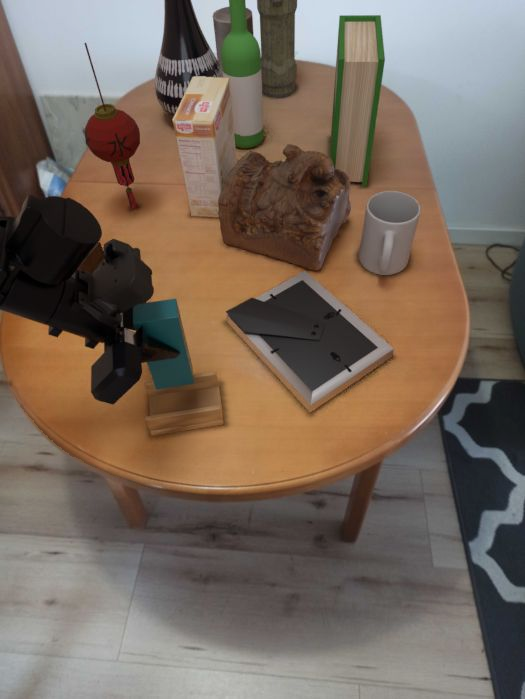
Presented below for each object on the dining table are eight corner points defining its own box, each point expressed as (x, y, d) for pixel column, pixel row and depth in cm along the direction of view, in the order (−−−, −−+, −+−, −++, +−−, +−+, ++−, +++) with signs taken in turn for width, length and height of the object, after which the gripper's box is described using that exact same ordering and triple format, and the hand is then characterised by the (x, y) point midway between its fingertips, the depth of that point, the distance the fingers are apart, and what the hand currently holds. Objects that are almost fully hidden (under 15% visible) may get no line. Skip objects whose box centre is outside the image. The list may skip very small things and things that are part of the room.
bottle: (241, 128, 116) (229, -29, 92) (270, 136, 113) (266, -23, 89) (222, 144, 112) (204, -15, 88) (252, 154, 109) (242, -8, 85)
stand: (151, 435, 69) (144, 421, 66) (150, 395, 73) (144, 380, 70) (223, 424, 70) (220, 410, 67) (219, 385, 74) (216, 369, 71)
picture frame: (227, 323, 81) (310, 413, 70) (225, 311, 79) (310, 402, 68) (304, 279, 86) (391, 357, 76) (304, 267, 84) (395, 345, 73)
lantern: (164, 214, 98) (123, 48, 74) (116, 229, 96) (59, 62, 72) (150, 188, 103) (108, 25, 79) (105, 201, 101) (48, 38, 77)
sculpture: (311, 279, 82) (205, 244, 87) (340, 266, 98) (249, 237, 104) (345, 156, 75) (226, 128, 81) (370, 164, 91) (270, 140, 97)
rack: (76, 297, 86) (68, 281, 82) (44, 288, 87) (35, 272, 84) (107, 259, 91) (101, 242, 88) (76, 251, 93) (69, 234, 90)
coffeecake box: (206, 171, 106) (191, 75, 91) (239, 172, 105) (230, 76, 90) (189, 216, 97) (170, 119, 82) (225, 219, 97) (213, 120, 81)
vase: (162, 103, 124) (132, -44, 101) (226, 97, 125) (212, -50, 101) (161, 138, 115) (128, -15, 91) (230, 132, 115) (216, -22, 91)
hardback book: (366, 186, 101) (384, 59, 82) (329, 186, 101) (338, 59, 82) (364, 138, 111) (380, 15, 92) (330, 137, 112) (339, 15, 93)
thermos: (263, 102, 122) (255, -83, 94) (258, 79, 129) (250, -100, 102) (299, 99, 123) (302, -87, 95) (292, 76, 130) (293, -104, 102)
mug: (360, 239, 91) (368, 187, 83) (409, 244, 90) (422, 192, 81) (353, 287, 84) (361, 236, 76) (406, 293, 83) (420, 242, 74)
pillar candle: (259, 66, 134) (257, 0, 122) (249, 83, 128) (245, 17, 116) (225, 62, 136) (219, -2, 124) (213, 80, 130) (205, 14, 118)
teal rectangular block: (156, 389, 66) (132, 323, 56) (155, 371, 68) (132, 304, 58) (194, 383, 67) (177, 316, 56) (192, 365, 68) (176, 298, 58)
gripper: (90, 320, 43) (230, 370, 53) (92, 190, 54) (207, 251, 64) (32, 387, 48) (168, 421, 58) (44, 256, 60) (157, 304, 69)
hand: (176, 344), depth 62 cm, fingers closed on teal rectangular block, 3 cm apart
